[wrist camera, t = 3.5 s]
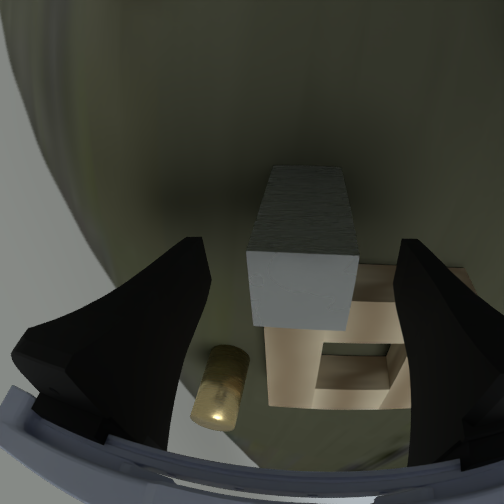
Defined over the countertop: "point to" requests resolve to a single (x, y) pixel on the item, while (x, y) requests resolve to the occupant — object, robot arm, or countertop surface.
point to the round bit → (221, 388)
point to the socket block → (346, 367)
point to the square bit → (303, 251)
